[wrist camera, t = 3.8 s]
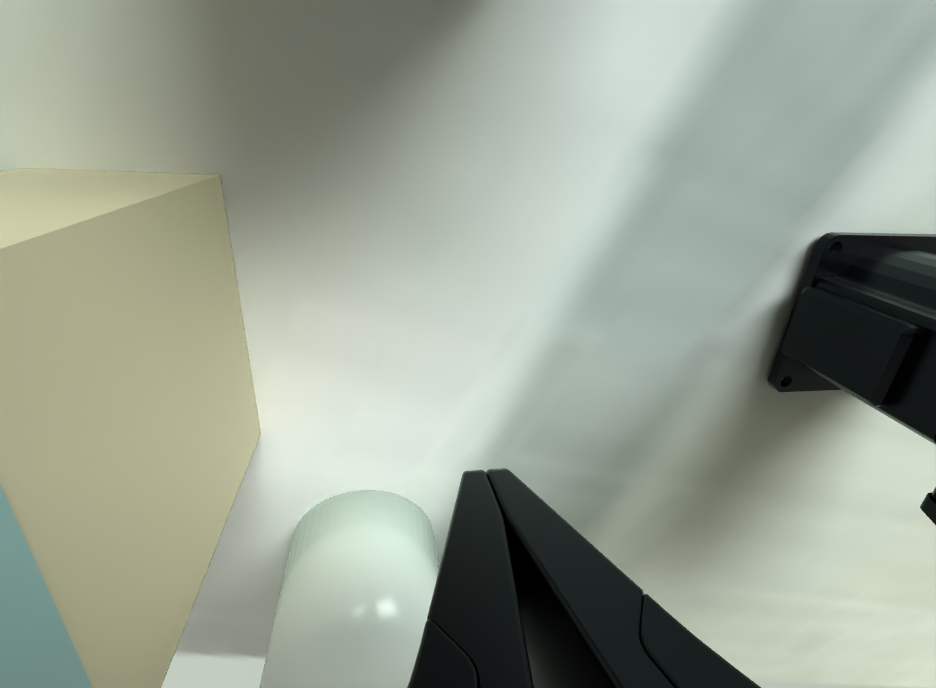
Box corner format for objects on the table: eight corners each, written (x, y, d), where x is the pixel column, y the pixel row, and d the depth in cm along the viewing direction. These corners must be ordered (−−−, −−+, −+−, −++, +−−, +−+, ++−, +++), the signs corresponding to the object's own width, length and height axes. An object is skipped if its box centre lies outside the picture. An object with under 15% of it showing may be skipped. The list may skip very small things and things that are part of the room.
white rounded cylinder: (435, 484, 20) (454, 619, 15) (432, 585, 22) (448, 732, 17) (284, 495, 19) (244, 643, 14) (299, 599, 21) (270, 759, 16)
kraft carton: (221, 173, 14) (-343, 359, 3) (262, 434, 18) (73, 924, 7) (20, 166, 13) (-1709, 386, 2) (108, 441, 17) (-379, 1012, 6)
